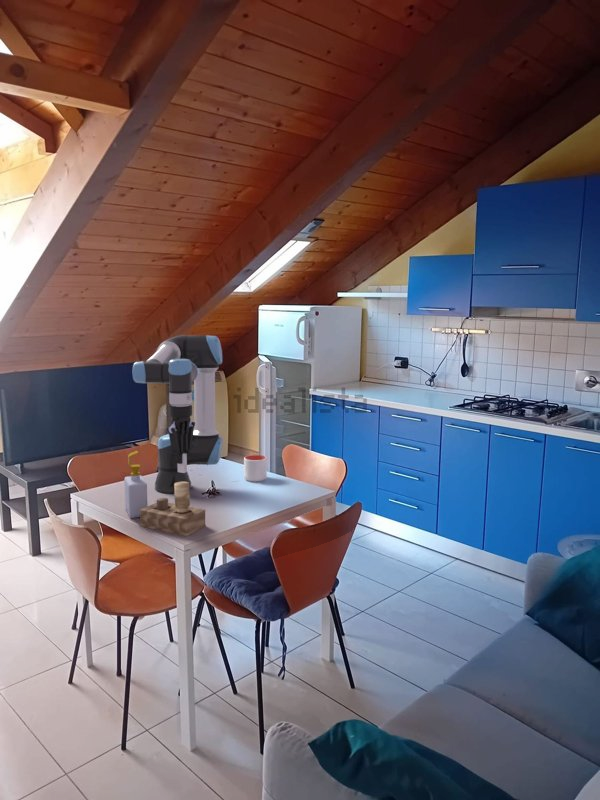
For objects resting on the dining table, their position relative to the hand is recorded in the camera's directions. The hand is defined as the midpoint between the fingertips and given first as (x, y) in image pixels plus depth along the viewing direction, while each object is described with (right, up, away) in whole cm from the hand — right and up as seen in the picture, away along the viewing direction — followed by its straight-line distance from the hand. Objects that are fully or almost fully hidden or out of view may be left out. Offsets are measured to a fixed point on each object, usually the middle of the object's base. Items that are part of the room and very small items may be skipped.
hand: (182, 471), depth 214 cm
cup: (+21, -11, +64) cm, 68 cm away
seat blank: (-4, -20, +5) cm, 21 cm away
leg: (0, -19, +3) cm, 19 cm away
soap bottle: (-21, -18, +19) cm, 33 cm away
